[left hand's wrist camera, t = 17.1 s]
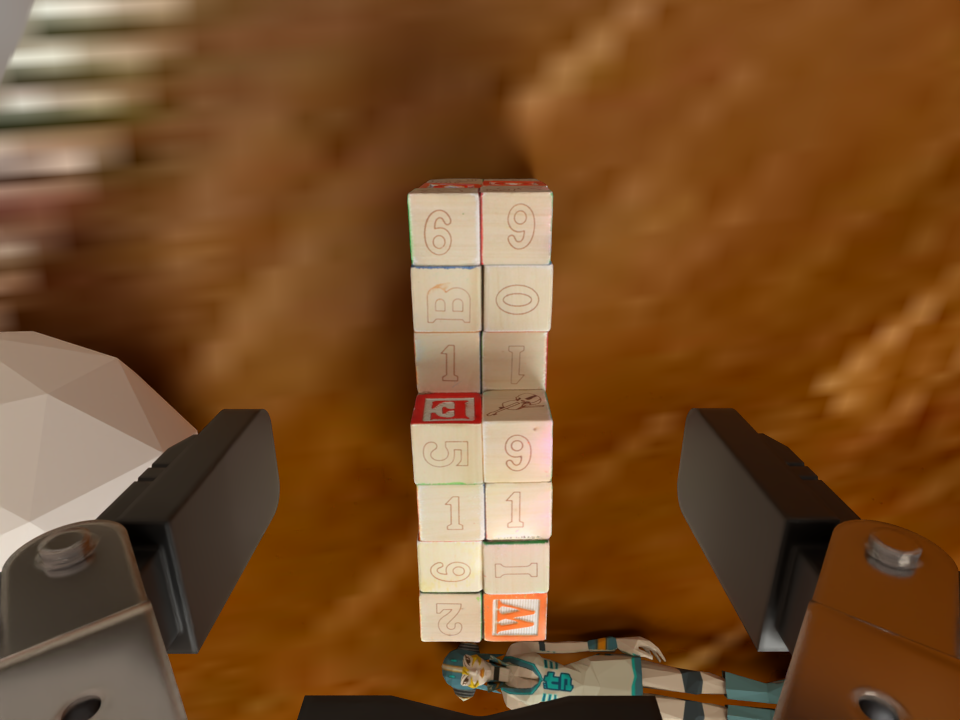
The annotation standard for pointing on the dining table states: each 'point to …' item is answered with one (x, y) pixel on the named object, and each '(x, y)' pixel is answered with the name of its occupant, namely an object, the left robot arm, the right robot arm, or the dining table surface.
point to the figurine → (602, 678)
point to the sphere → (71, 434)
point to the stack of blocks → (482, 406)
